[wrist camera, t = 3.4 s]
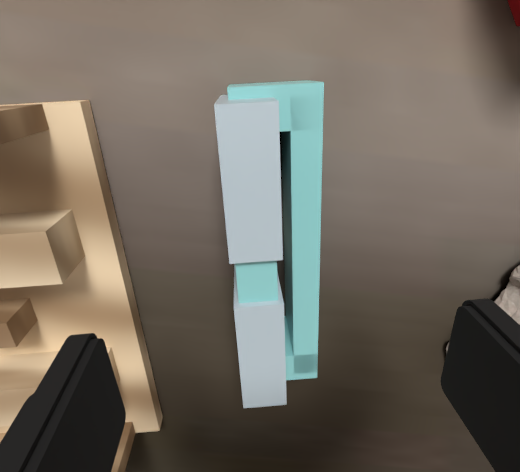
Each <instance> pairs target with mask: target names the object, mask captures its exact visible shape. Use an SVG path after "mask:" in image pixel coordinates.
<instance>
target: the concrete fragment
mask: <svg viewBox="0 0 520 472" xmlns="http://www.w3.org/2000/svg"><path fill="white" fill-rule="evenodd" d="M509 279H510V281H509V283H508V285H507V287H506V289H505V290H503V291H502V292H501V294H500V296H499V297H498V298H497V299H496V301H494V302H495V303H496V304H497V305H498V306H499V307H500V308H502V309H503V310H504V311H505V312H506V313H507V314H508V315H509V316H510V317H512V318H513V319H514V320H515V321H516V322H517V323H518V324H519V325H520V265H519V266H518V267H516V268H515V269H514V270H513V272H512V273H511V276H510V278H509ZM448 346H449V342H448V345H447V347H446V354H447V350H448Z"/></svg>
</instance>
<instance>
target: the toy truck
mask: <svg viewBox="0 0 520 472" xmlns="http://www.w3.org/2000/svg"><path fill="white" fill-rule="evenodd" d="M507 1H508V3H509V6H510V9H511V12H512V15H513V18H514V20H515V23H516V26H520V0H507Z"/></svg>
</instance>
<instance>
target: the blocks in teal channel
mask: <svg viewBox="0 0 520 472" xmlns="http://www.w3.org/2000/svg"><path fill="white" fill-rule="evenodd" d="M227 90H228V95H220V97H219V98H218V100H217V101H216V103H215V104H214V109H215V119H216V129H217V140H218V150H219V160H220V171H221V181H222V191H223V202H224V212H225V223H226V233H227V243H228V254H229V264H234V316H235V326H236V336H237V347H238V357H239V368H240V378H241V388H242V399H243V408H252V407H264V406H276V405H287V400H286V380H296V379H308V378H317V362H318V318H319V274H320V231H321V187H322V143H323V99H324V82H318V81H310V80H303V81H285V82H267V83H249V84H231V85H229V86H228V87H227ZM280 132H281V144H282V186H283V228H284V269H285V311H286V316H284V302H283V297H282V292H281V287H280V282H279V277H278V272H277V260H283V245H282V207H281V168H280Z"/></svg>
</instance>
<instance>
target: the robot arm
mask: <svg viewBox="0 0 520 472" xmlns="http://www.w3.org/2000/svg"><path fill="white" fill-rule="evenodd" d="M441 386H442V389H443V391H444V393H445V395H446V396H447V398H448V399H449V401H450V403H451V404H452V406H453V407H454V409H455V410H456V412H457V413H458V415H459V416H460V418H461V419H462V421H463V422H464V424H465V426H466V427H467V429H468V430H469V432H470V433H471V435H472V436H473V438H474V439H475V441H476V442H477V444H478V445H479V447H480V449H481V450H482V452H483V453H484V455H485V456H486V458H487V459H488V461H489V462H490V464H491V465H492V467H493V468H494V470H495V472H520V325H519V324H518V323H517V322H516V321H515V320H514V319H513V318H512V317H510V316H509V315H508V314H507V313H506V312H505V311H504V310H503V309H502V308H500V307H499V306H498V305H497V304H496V303H495V302H494V301H492V300H491V299H477V300H467V301H465V302H464V303H463V304H462V306H461V307H459V308H458V309H457V312H456V316H455V320H454V325H453V329H452V333H451V338H450V342H449V346H448V350H447V355H446V359H445V363H444V368H443V372H442V376H441ZM125 420H126V412H125V407H124V404H123V401H122V398H121V394H120V391H119V388H118V384H117V381H116V378H115V375H114V371H113V368H112V365H111V361H110V358H109V355H108V352H107V348H106V345H105V342H104V340H103V339H102V338H97V336H96V335H95V334H94V333H88V334H76V335H70V336H68V337H67V339H66V340H65V342H64V344H63V345H62V347H61V349H60V350H59V352H58V354H57V355H56V357H55V359H54V360H53V362H52V364H51V365H50V367H49V369H48V371H47V372H46V374H45V376H44V377H43V379H42V381H41V382H40V384H39V386H38V387H37V389H36V391H35V392H34V394H32V395H31V396H29V397H28V399H27V400H26V401H25V403H24V404H23V406H22V408H21V409H20V411H19V413H18V414H17V416H16V418H15V419H14V421H13V423H12V424H11V426H10V427H9V429H8V431H7V432H6V434H5V436H4V437H3V439H2V441H1V442H0V472H111V470H112V467H113V463H114V460H115V457H116V453H117V450H118V446H119V443H120V439H121V436H122V432H123V429H124V425H125Z"/></svg>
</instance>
